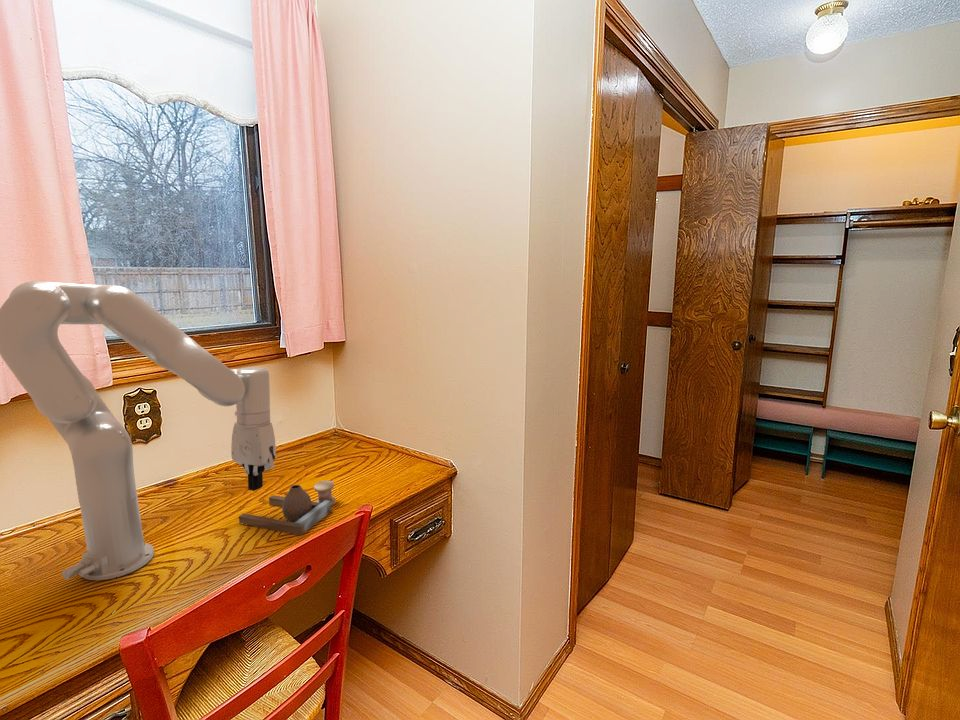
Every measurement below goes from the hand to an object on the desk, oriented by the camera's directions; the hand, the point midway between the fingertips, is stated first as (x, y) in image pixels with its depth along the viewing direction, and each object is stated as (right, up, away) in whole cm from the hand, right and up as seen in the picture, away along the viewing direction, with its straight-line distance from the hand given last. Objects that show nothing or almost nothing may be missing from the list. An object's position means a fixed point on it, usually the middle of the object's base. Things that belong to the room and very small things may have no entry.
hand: (255, 488), depth 123 cm
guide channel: (+8, -7, 0) cm, 11 cm away
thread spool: (+15, -6, +8) cm, 18 cm away
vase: (+11, -8, -1) cm, 13 cm away
